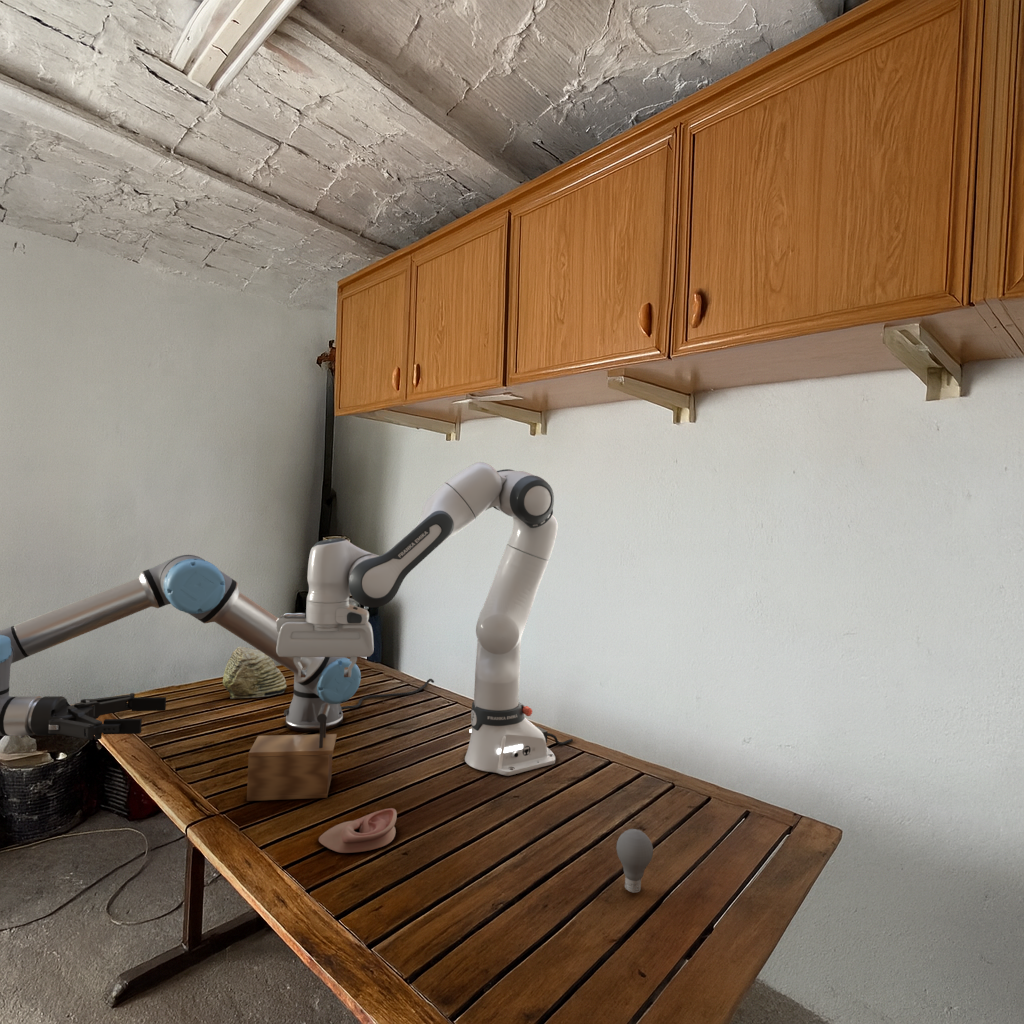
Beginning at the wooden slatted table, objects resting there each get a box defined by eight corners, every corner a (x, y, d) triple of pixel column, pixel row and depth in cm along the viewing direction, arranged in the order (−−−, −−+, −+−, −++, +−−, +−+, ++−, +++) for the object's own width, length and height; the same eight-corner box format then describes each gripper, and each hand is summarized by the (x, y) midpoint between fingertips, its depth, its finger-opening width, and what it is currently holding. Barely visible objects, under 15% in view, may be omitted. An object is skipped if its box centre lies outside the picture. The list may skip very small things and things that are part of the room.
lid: (336, 738, 142) (338, 701, 142) (332, 754, 133) (334, 715, 133) (257, 739, 139) (259, 702, 139) (248, 757, 130) (249, 716, 130)
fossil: (218, 695, 195) (220, 647, 195) (278, 685, 208) (279, 640, 207) (228, 703, 189) (230, 653, 188) (289, 692, 201) (290, 645, 201)
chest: (331, 778, 143) (333, 738, 142) (327, 798, 133) (328, 755, 133) (256, 781, 140) (257, 740, 139) (246, 801, 130) (248, 757, 130)
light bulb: (610, 879, 108) (613, 822, 108) (644, 879, 109) (647, 822, 109) (619, 902, 102) (622, 840, 102) (655, 901, 103) (658, 840, 103)
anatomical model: (310, 826, 114) (340, 797, 125) (309, 848, 114) (339, 817, 125) (379, 837, 111) (403, 806, 122) (378, 859, 111) (403, 827, 123)
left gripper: (69, 713, 140) (173, 712, 143) (0, 759, 115) (127, 756, 119) (70, 679, 139) (174, 679, 143) (1, 718, 115) (129, 717, 119)
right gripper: (274, 615, 132) (271, 681, 132) (374, 616, 136) (372, 680, 136) (279, 610, 138) (277, 673, 138) (375, 611, 142) (373, 672, 142)
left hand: (153, 714), depth 131 cm, fingers open, 13 cm apart
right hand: (325, 676), depth 137 cm, fingers open, 8 cm apart
